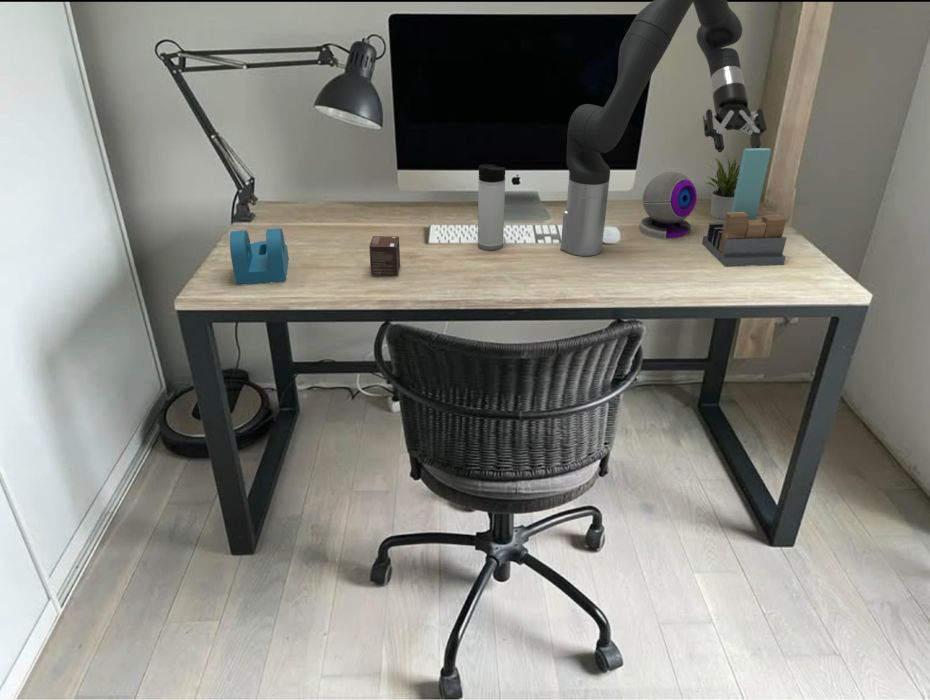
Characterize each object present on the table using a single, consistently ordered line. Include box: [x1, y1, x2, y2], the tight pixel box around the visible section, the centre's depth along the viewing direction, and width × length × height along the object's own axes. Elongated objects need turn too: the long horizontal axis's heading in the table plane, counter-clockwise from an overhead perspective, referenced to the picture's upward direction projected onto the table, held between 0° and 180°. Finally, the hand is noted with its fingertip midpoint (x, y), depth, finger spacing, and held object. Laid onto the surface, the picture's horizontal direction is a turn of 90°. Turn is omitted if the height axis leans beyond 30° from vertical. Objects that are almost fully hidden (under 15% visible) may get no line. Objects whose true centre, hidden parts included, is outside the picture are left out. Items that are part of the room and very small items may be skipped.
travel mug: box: [477, 163, 506, 251], centre depth 163 cm, size 6×7×20 cm
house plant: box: [705, 154, 741, 220], centre depth 183 cm, size 14×14×16 cm
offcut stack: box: [719, 212, 787, 253], centre depth 158 cm, size 3×13×9 cm, turn 94°
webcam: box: [638, 171, 698, 240], centre depth 174 cm, size 13×13×15 cm
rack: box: [701, 222, 787, 267], centre depth 163 cm, size 14×14×6 cm
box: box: [368, 235, 401, 277], centre depth 153 cm, size 6×6×7 cm
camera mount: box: [229, 227, 290, 286], centre depth 155 cm, size 18×10×10 cm, turn 10°
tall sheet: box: [731, 147, 772, 220], centre depth 160 cm, size 2×6×22 cm, turn 94°
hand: (738, 150), depth 164 cm, fingers open, 8 cm apart
